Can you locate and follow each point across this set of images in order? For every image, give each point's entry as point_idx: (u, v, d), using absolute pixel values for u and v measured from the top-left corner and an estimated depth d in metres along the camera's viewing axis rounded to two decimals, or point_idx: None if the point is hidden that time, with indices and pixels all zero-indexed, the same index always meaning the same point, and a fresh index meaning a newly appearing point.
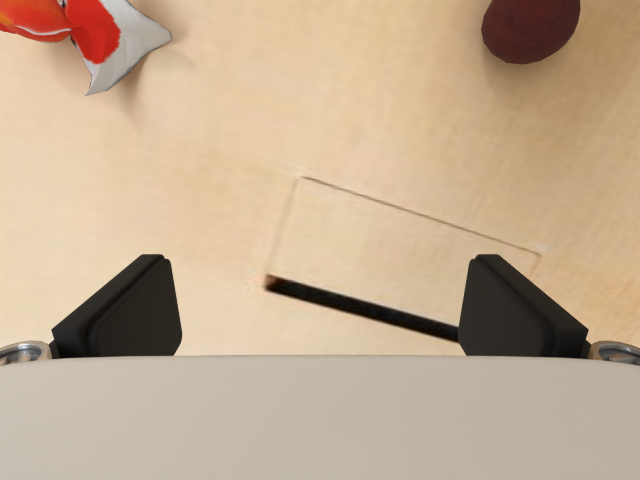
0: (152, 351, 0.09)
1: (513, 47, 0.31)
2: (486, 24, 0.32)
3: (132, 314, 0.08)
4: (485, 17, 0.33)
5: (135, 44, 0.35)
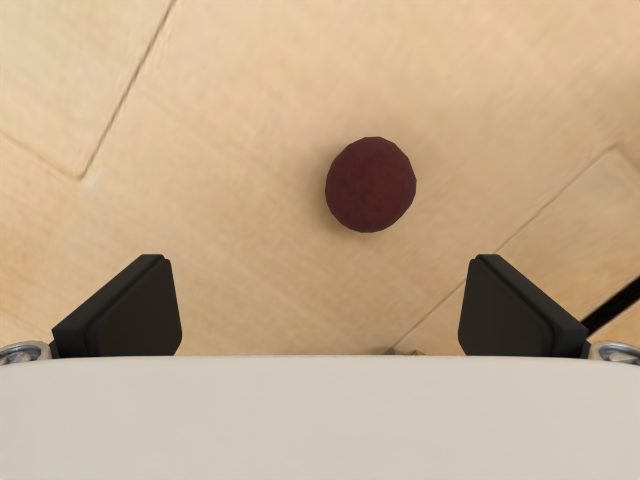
0: (152, 351, 0.09)
1: (352, 156, 0.26)
2: (384, 139, 0.28)
3: (132, 314, 0.08)
4: None
5: None
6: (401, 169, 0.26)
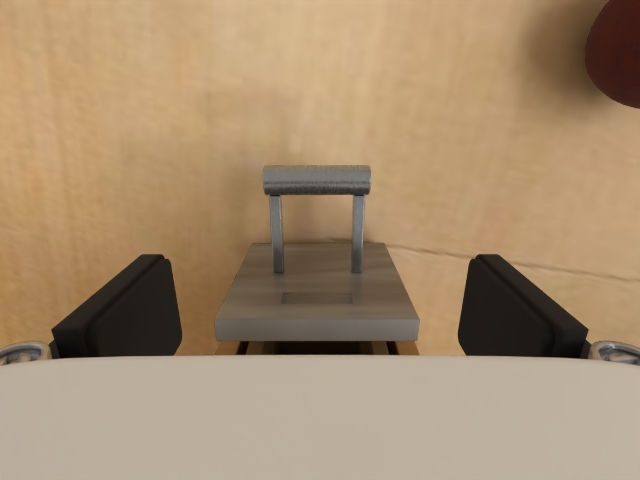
0: (152, 351, 0.09)
1: None
2: None
3: (132, 314, 0.08)
4: None
5: None
6: None
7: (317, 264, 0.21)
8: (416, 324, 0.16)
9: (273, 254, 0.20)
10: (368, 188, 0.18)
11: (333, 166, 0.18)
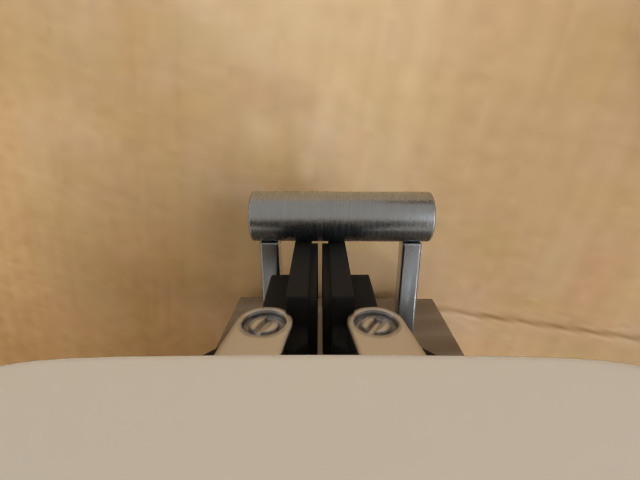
0: (317, 324, 0.11)
1: None
2: None
3: None
4: None
5: None
6: None
7: None
8: None
9: None
10: (430, 232, 0.10)
11: (369, 194, 0.11)
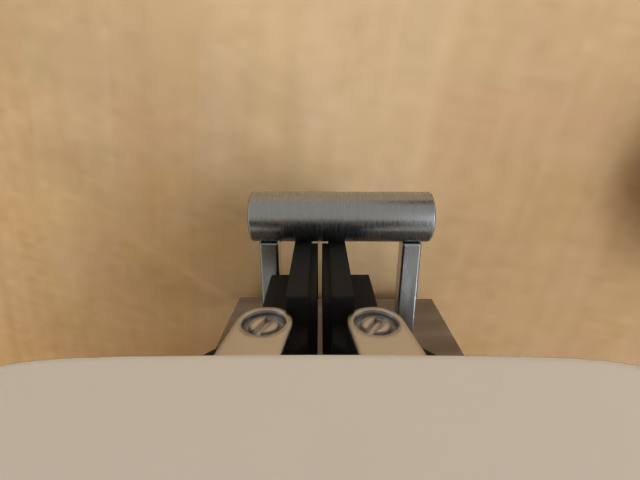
0: None
1: None
2: None
3: None
4: None
5: None
6: None
7: None
8: None
9: None
10: (430, 232, 0.10)
11: (369, 194, 0.11)
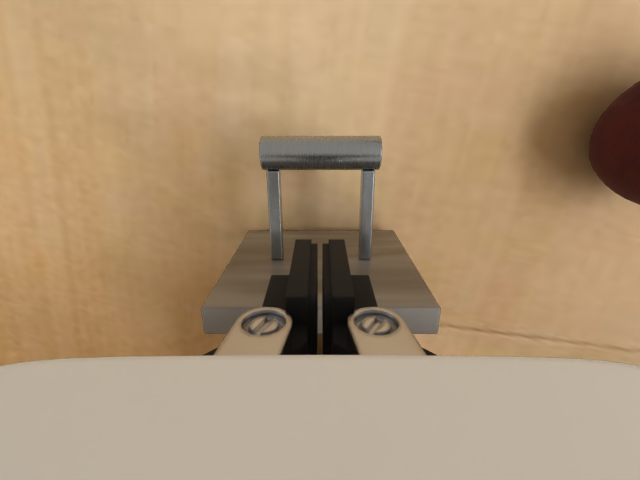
0: None
1: None
2: None
3: None
4: None
5: None
6: None
7: (320, 251, 0.19)
8: (437, 314, 0.14)
9: (271, 238, 0.18)
10: (379, 161, 0.16)
11: (339, 136, 0.16)
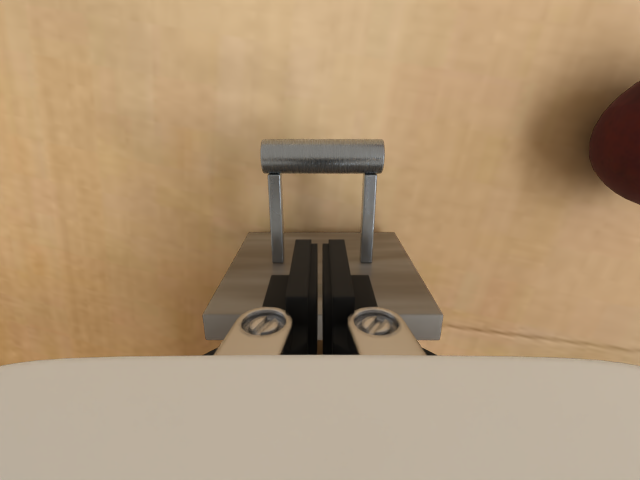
0: None
1: None
2: None
3: None
4: None
5: None
6: None
7: (321, 254, 0.19)
8: (439, 320, 0.14)
9: (272, 242, 0.18)
10: (381, 165, 0.16)
11: (341, 140, 0.16)
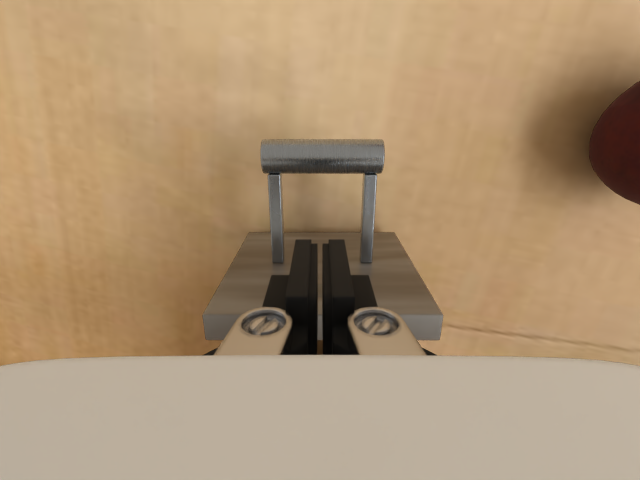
0: None
1: None
2: None
3: None
4: None
5: None
6: None
7: (321, 254, 0.19)
8: (439, 320, 0.14)
9: (272, 242, 0.18)
10: (381, 165, 0.16)
11: (341, 140, 0.16)
